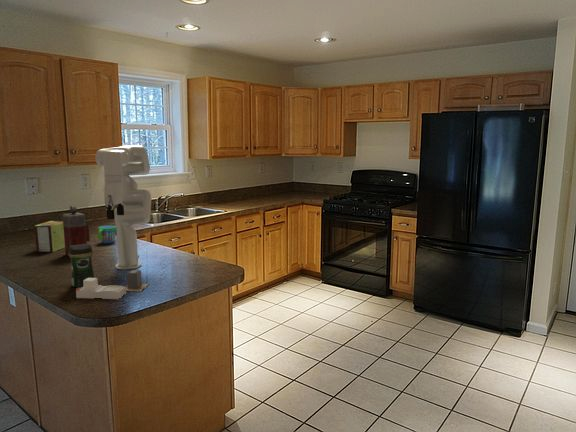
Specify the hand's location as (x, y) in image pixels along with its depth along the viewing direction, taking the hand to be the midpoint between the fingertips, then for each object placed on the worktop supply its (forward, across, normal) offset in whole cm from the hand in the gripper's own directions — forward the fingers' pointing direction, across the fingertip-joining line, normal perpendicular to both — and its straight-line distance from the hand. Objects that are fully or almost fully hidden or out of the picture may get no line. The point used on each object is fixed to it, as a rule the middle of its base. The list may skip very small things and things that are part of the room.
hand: (115, 216), depth 198 cm
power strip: (+30, +19, +1) cm, 36 cm away
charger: (+30, +9, +11) cm, 33 cm away
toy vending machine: (+31, -45, -44) cm, 70 cm away
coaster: (+30, +9, +11) cm, 33 cm away
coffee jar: (+30, +6, -14) cm, 34 cm away
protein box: (+31, -56, -66) cm, 92 cm away
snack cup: (+31, -75, -41) cm, 91 cm away
